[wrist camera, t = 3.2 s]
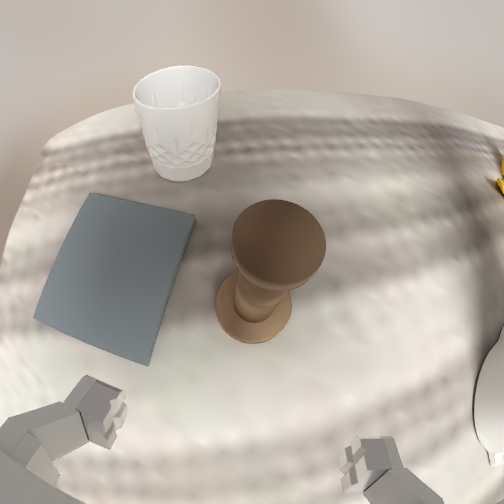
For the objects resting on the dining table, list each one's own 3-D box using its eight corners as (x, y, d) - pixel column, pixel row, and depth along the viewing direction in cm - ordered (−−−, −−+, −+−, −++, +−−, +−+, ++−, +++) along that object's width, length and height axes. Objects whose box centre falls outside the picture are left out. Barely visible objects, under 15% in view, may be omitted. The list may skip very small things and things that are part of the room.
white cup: (233, 162, 31) (239, 86, 22) (173, 199, 28) (160, 121, 19) (191, 128, 33) (188, 58, 24) (136, 158, 30) (118, 87, 21)
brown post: (292, 283, 26) (343, 203, 15) (280, 350, 23) (335, 313, 12) (225, 267, 26) (232, 175, 15) (208, 333, 23) (198, 282, 12)
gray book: (195, 219, 27) (194, 215, 27) (148, 366, 21) (145, 365, 20) (92, 197, 27) (89, 192, 27) (37, 319, 21) (33, 317, 20)
